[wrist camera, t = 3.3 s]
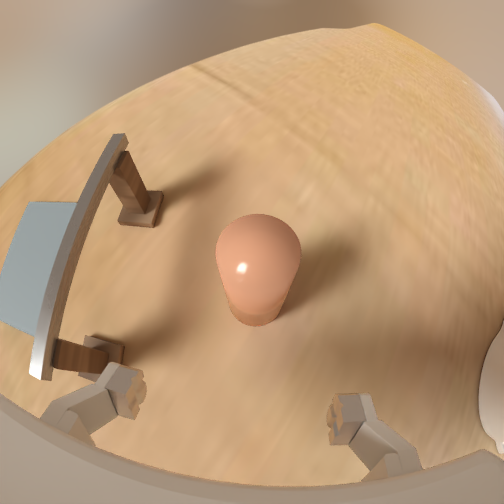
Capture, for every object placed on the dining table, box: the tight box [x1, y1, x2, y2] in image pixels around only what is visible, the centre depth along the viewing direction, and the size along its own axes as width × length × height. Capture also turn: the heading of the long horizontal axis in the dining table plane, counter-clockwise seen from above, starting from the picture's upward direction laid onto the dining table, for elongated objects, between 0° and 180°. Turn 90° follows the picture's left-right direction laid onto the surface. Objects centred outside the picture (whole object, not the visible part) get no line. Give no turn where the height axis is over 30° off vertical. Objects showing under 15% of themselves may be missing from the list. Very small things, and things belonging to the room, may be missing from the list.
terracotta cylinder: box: [215, 214, 301, 326], centre depth 20 cm, size 5×5×10 cm
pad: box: [0, 202, 77, 337], centre depth 25 cm, size 11×16×1 cm
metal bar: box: [29, 133, 129, 381], centre depth 17 cm, size 1×20×1 cm, turn 174°
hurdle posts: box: [53, 151, 164, 382], centre depth 21 cm, size 4×20×8 cm, turn 173°
